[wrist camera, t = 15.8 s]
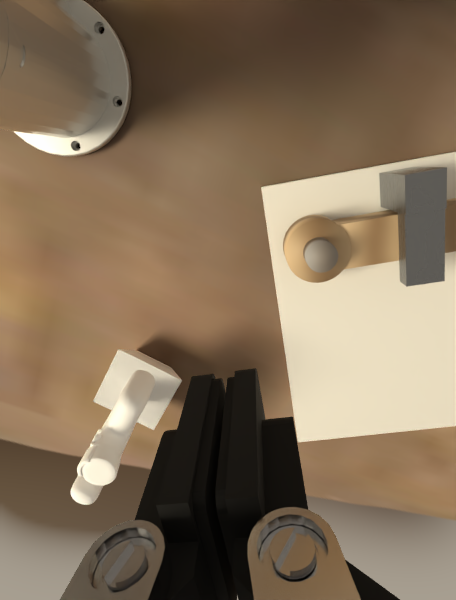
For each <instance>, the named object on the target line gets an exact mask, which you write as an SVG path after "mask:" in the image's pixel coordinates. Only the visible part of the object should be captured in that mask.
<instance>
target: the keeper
mask: <svg viewBox="0 0 456 600" xmlns="http://www.w3.org/2000/svg"><path fill="white" fill-rule="evenodd" d="M379 181H380V203H381V207H382V208H385V209H388V210H391V211H394V212H397V213H398V238H399V270H400V282H401V283H403V284H404V285H405V286H406V287H408V286H414V285H421V284H428V283H435V282H442V281H445V209H447V167H410V168H405V169H399V170H393V171H388V172H382V173H379Z"/></svg>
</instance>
